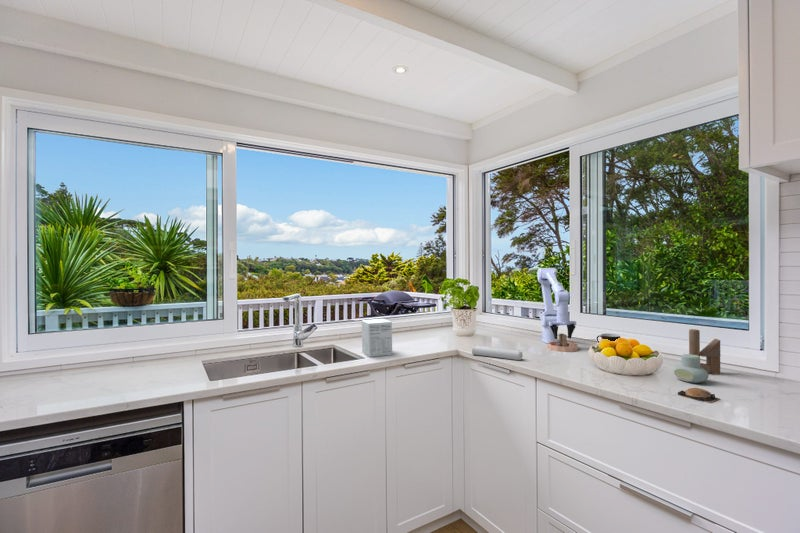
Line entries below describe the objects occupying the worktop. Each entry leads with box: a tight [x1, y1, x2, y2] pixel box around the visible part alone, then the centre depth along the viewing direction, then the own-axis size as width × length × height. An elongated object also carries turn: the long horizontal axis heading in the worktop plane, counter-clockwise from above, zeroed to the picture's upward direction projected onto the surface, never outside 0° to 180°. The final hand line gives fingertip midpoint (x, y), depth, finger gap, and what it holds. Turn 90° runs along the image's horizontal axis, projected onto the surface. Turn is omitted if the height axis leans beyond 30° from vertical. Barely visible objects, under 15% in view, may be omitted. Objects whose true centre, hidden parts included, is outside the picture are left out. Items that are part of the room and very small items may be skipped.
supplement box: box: [361, 318, 393, 358], centre depth 210 cm, size 13×13×18 cm
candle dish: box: [547, 340, 579, 353], centre depth 214 cm, size 15×15×3 cm
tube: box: [471, 344, 523, 361], centre depth 197 cm, size 5×5×25 cm
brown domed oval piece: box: [677, 387, 721, 404], centre depth 136 cm, size 11×8×4 cm
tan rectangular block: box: [558, 333, 568, 347], centre depth 214 cm, size 5×2×7 cm, turn 3°
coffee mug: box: [596, 333, 621, 344], centre depth 200 cm, size 12×9×10 cm
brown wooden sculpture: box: [688, 328, 721, 375], centre depth 165 cm, size 4×11×18 cm, turn 80°
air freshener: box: [673, 353, 709, 384], centre depth 154 cm, size 11×8×10 cm
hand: (562, 338), depth 214 cm, fingers open, 7 cm apart
